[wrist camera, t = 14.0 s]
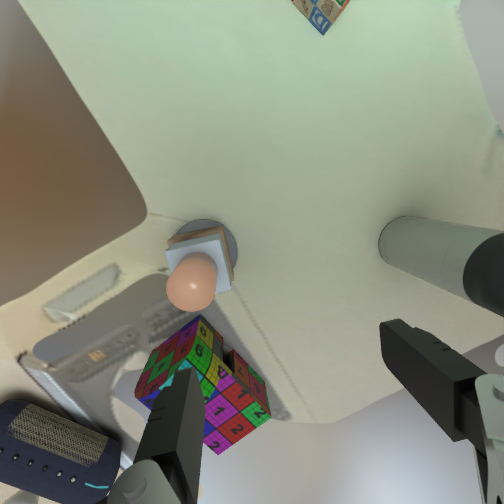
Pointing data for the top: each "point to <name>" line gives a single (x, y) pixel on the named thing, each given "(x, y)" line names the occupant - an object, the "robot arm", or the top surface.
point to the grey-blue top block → (208, 246)
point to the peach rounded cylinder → (193, 282)
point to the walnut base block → (203, 233)
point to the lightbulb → (22, 498)
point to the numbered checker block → (209, 383)
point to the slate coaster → (207, 224)
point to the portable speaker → (55, 455)
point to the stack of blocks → (321, 11)
